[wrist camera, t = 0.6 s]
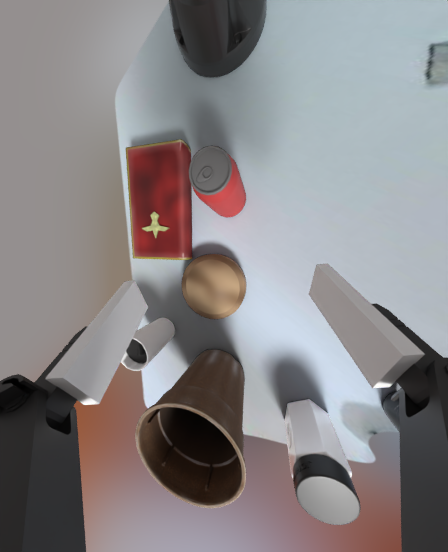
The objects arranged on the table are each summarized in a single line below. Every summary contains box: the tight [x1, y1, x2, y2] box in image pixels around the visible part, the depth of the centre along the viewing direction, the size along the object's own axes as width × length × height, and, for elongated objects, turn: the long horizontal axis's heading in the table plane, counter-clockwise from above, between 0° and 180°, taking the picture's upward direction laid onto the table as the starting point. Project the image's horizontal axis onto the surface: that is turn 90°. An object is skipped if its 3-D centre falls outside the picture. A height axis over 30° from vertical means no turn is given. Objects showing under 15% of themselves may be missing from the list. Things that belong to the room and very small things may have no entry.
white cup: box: [121, 318, 175, 371], centre depth 34 cm, size 7×7×10 cm
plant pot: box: [136, 349, 246, 508], centre depth 30 cm, size 16×16×16 cm
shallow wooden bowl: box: [182, 254, 246, 319], centre depth 33 cm, size 13×13×2 cm
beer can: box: [189, 146, 246, 217], centre depth 26 cm, size 7×7×12 cm
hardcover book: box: [126, 139, 192, 260], centre depth 33 cm, size 12×21×4 cm, turn 179°
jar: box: [285, 399, 360, 525], centre depth 28 cm, size 9×8×12 cm
